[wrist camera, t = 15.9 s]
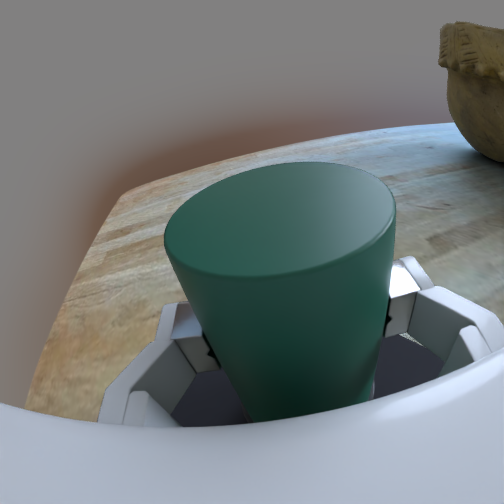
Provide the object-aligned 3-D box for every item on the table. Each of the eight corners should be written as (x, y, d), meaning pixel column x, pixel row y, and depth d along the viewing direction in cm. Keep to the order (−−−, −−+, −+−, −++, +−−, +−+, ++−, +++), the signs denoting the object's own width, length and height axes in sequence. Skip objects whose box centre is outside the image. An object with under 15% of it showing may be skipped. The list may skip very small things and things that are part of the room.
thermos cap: (311, 479, 8) (281, 352, 3) (219, 400, 12) (121, 230, 7) (396, 379, 11) (437, 180, 6) (302, 327, 15) (273, 151, 10)
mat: (310, 573, 5) (310, 575, 5) (148, 409, 14) (144, 405, 13) (466, 373, 11) (469, 368, 11) (299, 290, 19) (298, 284, 19)
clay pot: (467, 133, 42) (459, 35, 31) (559, 167, 25) (560, 55, 14) (418, 153, 36) (404, 18, 24) (549, 204, 19) (554, 34, 8)
